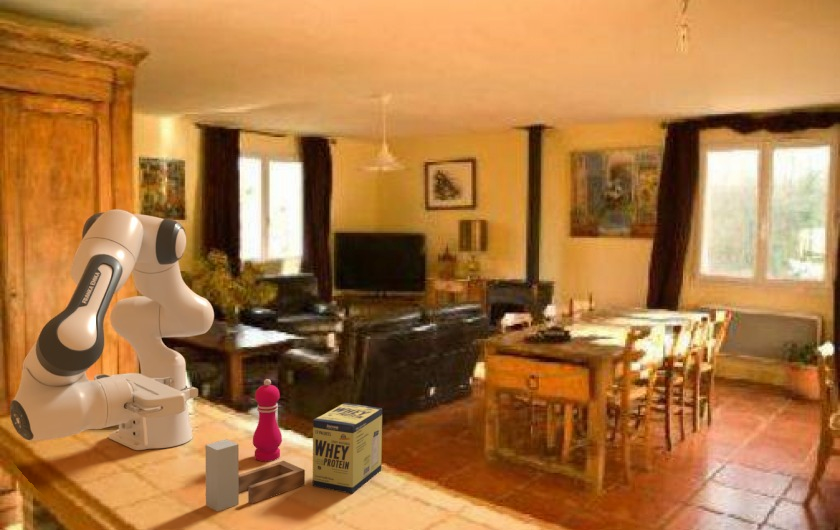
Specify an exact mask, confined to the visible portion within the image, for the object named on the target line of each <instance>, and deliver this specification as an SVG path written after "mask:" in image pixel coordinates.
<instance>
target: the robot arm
mask: <svg viewBox="0 0 840 530" xmlns="http://www.w3.org/2000/svg"><path fill="white" fill-rule="evenodd" d="M81 233H82V235H81V241H80V243H79V246H78V247H77V249H76V252H75V253H74V256H73V260H72V262H71V263H72V264H71V267H70V271H69V275H70V276H71V279H72V280H73V282H74V283H75V284H76V287H75V290H74V291H73V294H72V295H71V297H70V299H69V301H68V304H67V305H66V307H65V309H63V311H61V312H59V313H58V314H57V315H54V317H53V318H51V319H50V320H48V322H47V323H45V325H43V327H42V329H41V330H40V333H39V335H38V338H37V339H36V341H35V343H34V344H33V345H32V346H31V348H30V350H29V351H28V353H27V354H26V355H25V356H26V357H25V358H24V360H23V363H22V367H21V378H20V383H19V387H18V389H17V392H16V394H15V395H14V398H13V399H12V400H11V401H10V404H9V414H10V419H11V424H12V426H13V427H14V429H15V430H16V431H15V432H16V433H17V434H19V436H21V437H22V438H23V439H25V440H27V441H35V442H37V441H38V442H39V441H48V440H56V439H60V438H66V437H71V436H75V435H78V434H80V433H82V432H84V431H87V430H100V429H104V428H110V427H114V426H117V425H118V429H116V430H113V431H112V432H110V434H109V435H108V439H110V440H111V441H114V442H116V443H119V444H120V445H123V446H125V447H127V448H130V449H132V450H134V451H142V450H151V449H165V448H166V449H167V448H171V447H172V448H173V447H177V446H181V445H183V444H186V443H188V442H189V441H191V440H192V439H193V437H194V436H193V430H194V429H193V426H192V425H191V420H190V418H191V417H190V411H189V409H190V408H189V404H188V402H187V401H189V400H190V399H194V398H197V397H198V396H199V388H197V387H194V386H191V387H188V385H186V382H187V381H186V380H187V379H186V378H187V377H186V375H187V374H186V372H187V371H186V369H187V367H186V359H185V358H184V356H183V355H182V354H181V353H180V352H178V351H176V350H174V349H172V348H169V347H167V345H165V343H164V342H163V340H162V338H186V337H195V336H200V335H203V334H206V333H207V332H208V331H209V330H210V329H211V327H212V325H213V323H214V319H215V312H214V308H213V306H212V303H211V302H210V301H209V300H208V299H207V298H205V297H202V296H201V295H199V294H197V293H195V292H194V291H193V290H192V289H190V287H189V286H188V285H187V284H186V283H185V281H184V279H183V277H182V273H181V268H180V263H179V262H180V261H179V260H181V259H182V257H183V256H184V252H185V250H186V247H187V235H186V230H185V227H184V226H183V225H182V224H181V223H180V222H179V221H177V220H174V219H171V218H161V217H159V216H158V217H157V216H152V215H146V214H140V213H135V214H134V213H132V212H130V211H127V210H124V209H119V208H118V209H116V208H115V209H110V210H107V211H103V212H97V213H94V214H92V215H91V216H90V217H89V218H87V219H86V221H85V223H84V224H83V227H82V232H81ZM131 274H132V278H133V279H132V280H133V284H134V287H135V288H136V290H137V291H138V292H139V293H140V294H141V295H135V296H130V297H125V298H122V299H118V300H117V302H115V303H114V305H113V306H112V309H111V311H110V316H109V319H110V325H111V327H112V329H113V331H114V332H115V333H116V334H117V335H119V336H120V337H121V338H122V339H124V340H126V341H127V342H128V343H129V345H130V346H131V347H132V349H133V350H134V351H135V353H136V356H137V358H138V362H139V367H140V373H139V372H128V373H120V374H113V375H111V374H110V375H107V374H95V375H94V376H93V380H90V379H89V378H88V376H87V373H86V372H87V371H88V370H89V368H91V367H92V366H93V365H94V364H95V363H97V362H98V360H99V359H100V358H101V356H102V354H103V352H104V348H105V333H104V320H105V317H106V314H107V312H108V309H109V306H110V304H111V302H112V299H113V297H114V295H115V294H118V292H119V291H121V289H122V288H123V286H125V284H126V282H127V280H128V279H129V278H130V276H131Z"/></svg>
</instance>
